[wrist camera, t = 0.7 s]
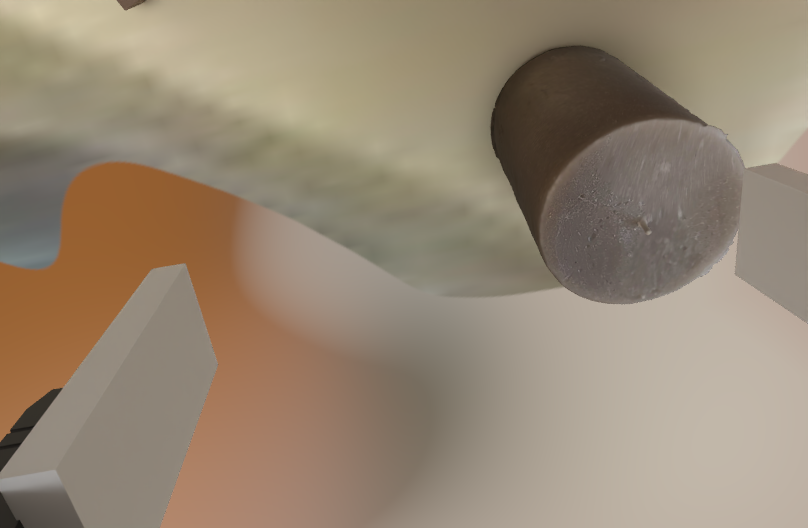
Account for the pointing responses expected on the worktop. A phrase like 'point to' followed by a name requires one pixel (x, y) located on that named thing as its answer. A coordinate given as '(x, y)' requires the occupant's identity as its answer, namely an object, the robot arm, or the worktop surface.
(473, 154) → the worktop surface
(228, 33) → the worktop surface
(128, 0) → the walnut channel
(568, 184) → the pillar candle
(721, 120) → the worktop surface
